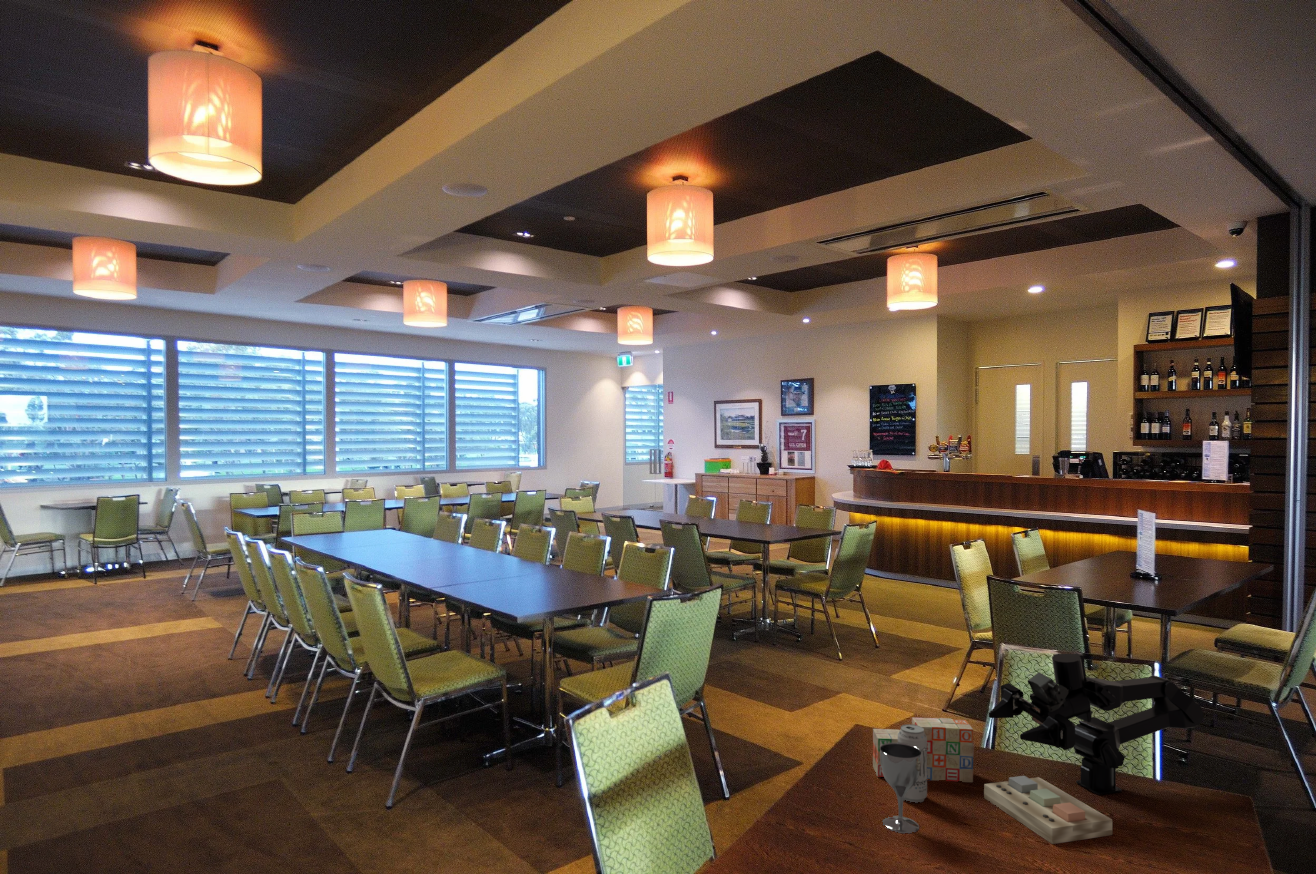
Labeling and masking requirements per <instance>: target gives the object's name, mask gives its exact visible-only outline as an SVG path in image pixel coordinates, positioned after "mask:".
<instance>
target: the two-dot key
mask: <svg viewBox="0 0 1316 874" xmlns="http://www.w3.org/2000/svg"><path fill="white" fill-rule="evenodd" d="M1053 813H1054V814H1055V815H1057V816H1058V817H1060V818H1062V819H1063V820H1065V821H1066V822H1075V821H1082V820H1085V811H1084V810H1082V809H1080V808H1078V807H1077V806H1075V805H1073V804H1072V803H1070V802H1069V803H1062V804H1054V805H1053Z"/></svg>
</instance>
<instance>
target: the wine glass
mask: <svg viewBox="0 0 1316 874" xmlns="http://www.w3.org/2000/svg"><path fill="white" fill-rule="evenodd" d="M880 762H881V768H882V772H883V775H884V778H883V779H885V781H886V782H887V783H888V785H889V786H890V787H891V788H892V789H893V791H894V792H895V795H896V798H897V799H896V800H897V806H898V807H897V808H898V815H892V816H893V817H889V816H887V817H888V818H886V817H884V818H885V819H884V818H883V819H882V821H881V823H882V822H883V824H882V825H883V826H884V825H885V826H886V827H887V828H886V827H885V828H886V829H887V830H889V829H890V830H889V831H891V832H893V831H895V832H894V833H897V832H898V834H905V833H908V834H913V833H912V832H914V833H916V832H918V831H919V830H920V825H919V823H918V822H917V821H915V820H914V819H911V818H909V817H906V816H903V815H904V814H903V812H904V811H903V808H904V801H905V800H904V797H905V794H906V793H907V791H908V790H909V789H910V788H912V787H913V786H914V785H915V783H916V782H917V781H918V778H919V774H920V769H921V751H920V750H919V749H918V748H917V747H915V746H912V745H909V744H905V743H886V744H883V745H882V746H881V747H880Z"/></svg>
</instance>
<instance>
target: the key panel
mask: <svg viewBox="0 0 1316 874" xmlns="http://www.w3.org/2000/svg"><path fill="white" fill-rule="evenodd" d="M1028 778H1029V777H1028ZM1029 779H1031V780H1033V781H1034V782H1036V783H1038V790H1039V789H1048V790H1050V791H1051V792H1053V793H1055V794H1056V795H1058V796H1060V804H1062V803H1069V802H1070V803H1072V804H1073V805H1075V806H1077V807H1078V808H1080V809H1082V810H1084V811H1085V820H1082V821H1075V822H1066V821H1065V820H1063V819H1062V818H1060V817H1058V816H1057V815H1055V814H1054V813H1053V806H1050V807H1042V806H1041V805H1039V804H1038V803H1036V802H1034V801H1033V800H1031V799H1030V792H1028V793H1020V792H1018V791H1017V790H1015V789H1014V788H1012V787H1010V786H1009V780H1006V781H999V782H990V783H984V785H983V788H984V789H983V796H984V797H983V798H984V799H985V800H986V801H988V802H989V801H990V802H989V803H991V804H992V805H994V806H995V805H996V806H995V807H997V808H998V807H999V810H1001V811H1003V812H1005V814H1007V815H1009V816H1010V817H1012V818H1013V819H1014V820H1017V821H1018V822H1019V823H1021V824H1022V825H1024V827H1026V828H1028V829H1029V830H1030V831H1033V832H1034V833H1035V834H1037V835H1038V836H1039V837H1041V838H1043V839H1044V840H1046V841H1047V842H1049V843H1050V844H1051V845H1054V844H1055V845H1056V844H1062V843H1067V842H1074V841H1081V840H1088V839H1094V838H1101V837H1109V836H1113V819H1112V818H1111V817H1109V816H1107V815H1105V814H1103V813H1101V812H1100V811H1099V810H1096V809H1094V808H1093V807H1091V806H1089V805H1087V804H1086V803H1084V802H1083V801H1081V800H1079V799H1077V798H1076V797H1074V796H1072V795H1071V794H1069V793H1067V792H1065V791H1063V790H1062V789H1060V788H1059V787H1057V786H1055V785H1053V784H1051V783H1049V782H1048V781H1047V780H1044V779H1043V778H1041V777H1040V776H1039V777H1030V778H1029Z"/></svg>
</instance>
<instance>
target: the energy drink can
mask: <svg viewBox="0 0 1316 874" xmlns="http://www.w3.org/2000/svg"><path fill="white" fill-rule="evenodd" d="M899 730H900V731H899V733H898V743H905V744H909V745H912V746H915V747H917V748H918V749H919V750H920V751H921V769H920V774H919V778H918V781H917V782H916V783H915V785H914V786H913V787H912V788H910V789H909V790H908V791H907V793H906V794H905V797H904V801H905V800H906V801H905V802H907V801H910V802H909V803H911V802H915V803H914V804H918V802H920V803H923V802H924V801H925V799H926V798H927V797H928V780H927V737H926V735H925V733H924V729H923V728H922V727H920V726H917V725H912V723H911V724H902V725H901V726H900V729H899Z"/></svg>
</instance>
